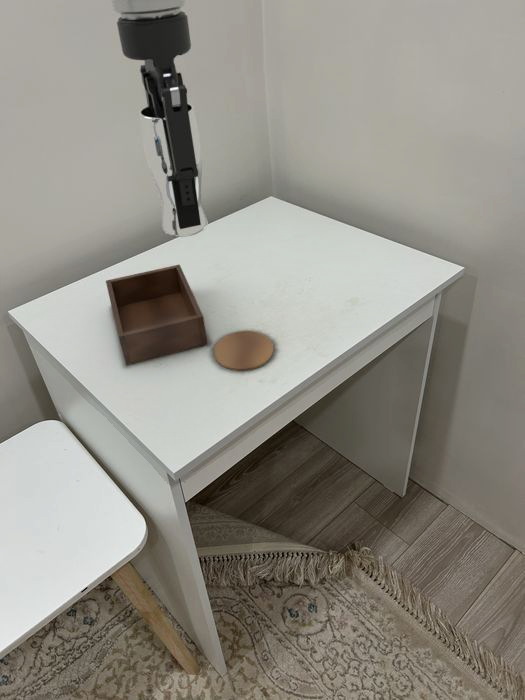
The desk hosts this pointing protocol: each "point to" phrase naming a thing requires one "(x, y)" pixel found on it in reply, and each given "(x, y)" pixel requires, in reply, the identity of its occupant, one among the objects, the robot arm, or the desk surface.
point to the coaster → (243, 350)
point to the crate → (155, 314)
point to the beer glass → (161, 169)
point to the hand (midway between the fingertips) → (183, 214)
